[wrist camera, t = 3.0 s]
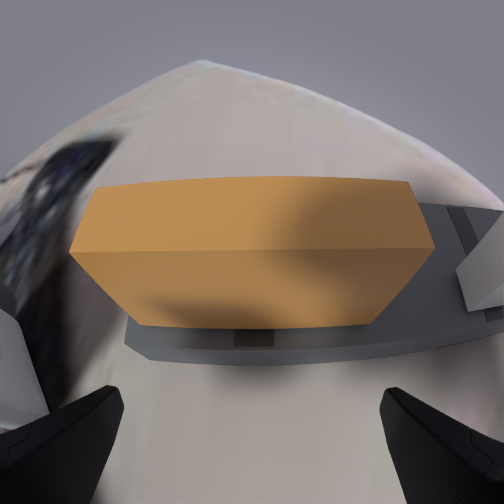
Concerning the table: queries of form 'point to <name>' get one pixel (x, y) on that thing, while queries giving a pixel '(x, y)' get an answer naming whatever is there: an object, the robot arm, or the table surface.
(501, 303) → the white slider
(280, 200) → the orange slider
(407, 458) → the robot arm
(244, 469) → the table surface
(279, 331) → the switch box
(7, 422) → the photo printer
